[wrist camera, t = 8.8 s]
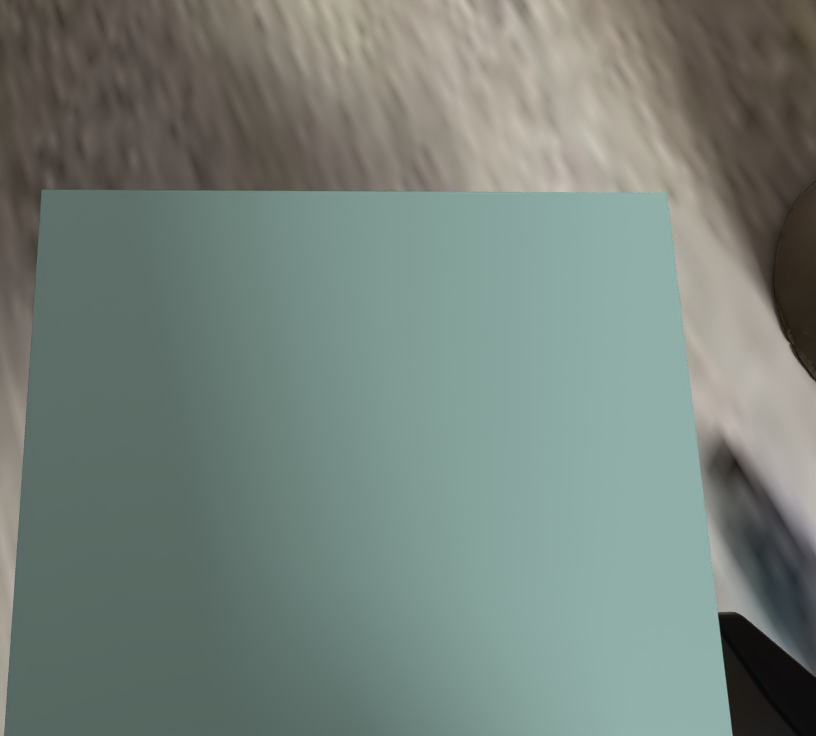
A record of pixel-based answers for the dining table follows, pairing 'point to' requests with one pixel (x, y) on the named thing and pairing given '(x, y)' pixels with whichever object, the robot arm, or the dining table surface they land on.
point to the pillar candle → (799, 277)
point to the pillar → (361, 470)
